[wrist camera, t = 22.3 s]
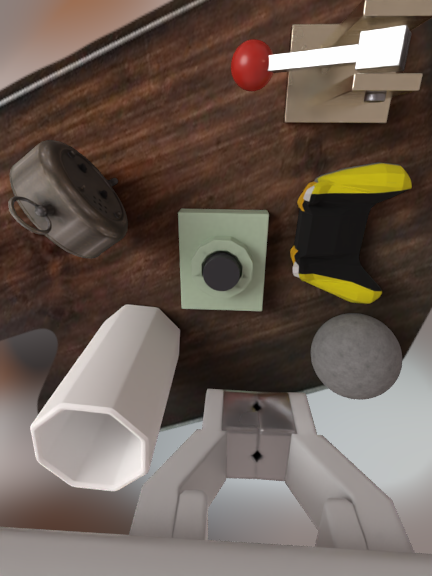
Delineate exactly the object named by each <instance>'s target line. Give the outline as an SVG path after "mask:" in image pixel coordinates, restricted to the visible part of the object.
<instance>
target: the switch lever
mask: <svg viewBox="0 0 432 576" xmlns="http://www.w3.org/2000/svg"><path fill="white" fill-rule="evenodd" d="M410 38H411V32H410V30H409V28H408V26H407V25H400V26H393V27H386V28H379V29H372V30H365V31H361V32H360V37H359V44H352V45H345V46H337V47H329V48H321V49H313V50H305V51H297V52H289V53H281V54H273V53H272V51H271V49H270V47H269V46H268V45H267V44H266V43H264V42H263V41H260V40H256V39H253V40H248V41H246V42H244V43H242V44H241V45H240V46H239V47H238V48H237V49H236V51H235V53H234V55H233V58H232V62H231V72H232V76H233V79H234V81H235V82H236V84H237V85H238V86H239V87H241V88H242V89H244V90H246V91H257V90H260V89H261V88H263V87H264V86H265V85H267V83H268V82H269V81H270V79H271V77H272V75H273V73H278V72H289V71H299V70H309V69H320V68H330V67H340V66H351V65H355V70H356V71H358V72H359V73H391V72H403V71H404V68H405V63H406V58H407V53H408V48H409V43H410Z"/></svg>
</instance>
